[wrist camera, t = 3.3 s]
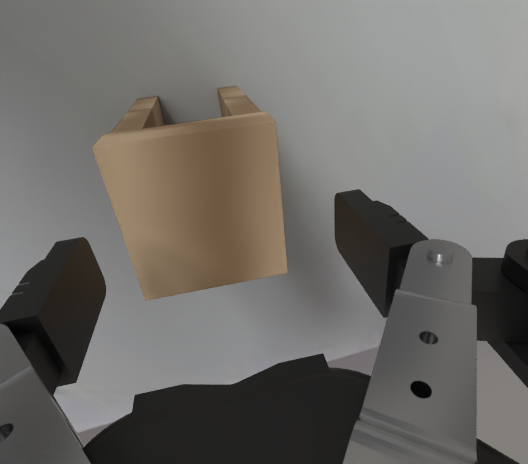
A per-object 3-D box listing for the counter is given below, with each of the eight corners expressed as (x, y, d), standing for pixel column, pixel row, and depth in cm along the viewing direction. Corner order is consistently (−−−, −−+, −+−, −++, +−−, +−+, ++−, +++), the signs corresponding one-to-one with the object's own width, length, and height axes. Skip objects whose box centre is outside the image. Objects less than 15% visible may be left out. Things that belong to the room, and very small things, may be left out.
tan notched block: (162, 193, 24) (145, 300, 14) (136, 95, 21) (91, 147, 11) (248, 179, 25) (287, 272, 15) (236, 82, 21) (275, 121, 12)
